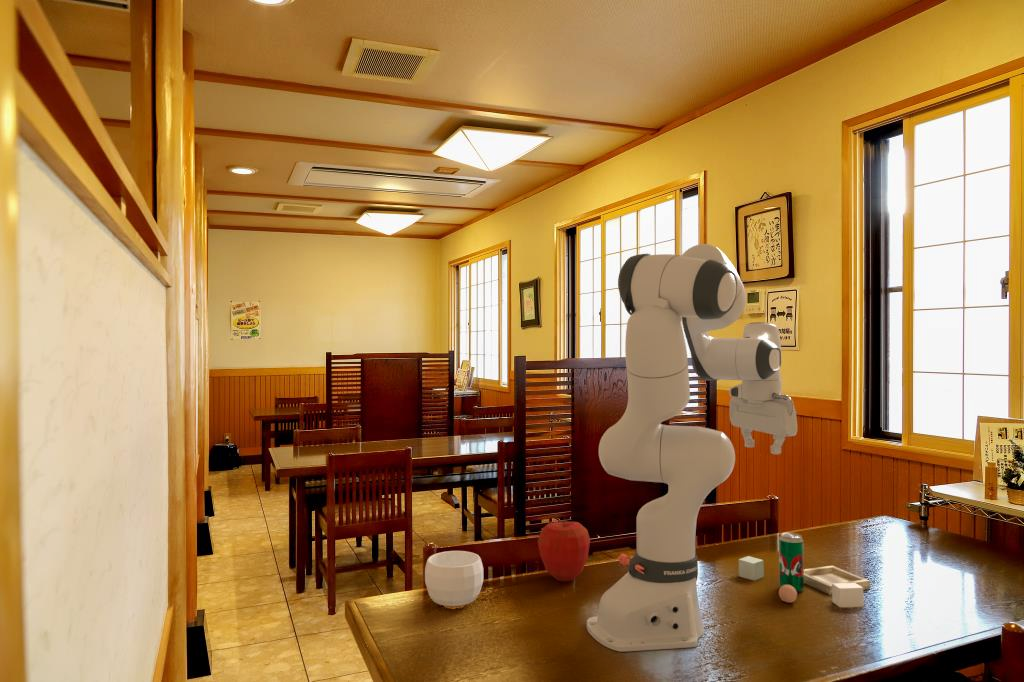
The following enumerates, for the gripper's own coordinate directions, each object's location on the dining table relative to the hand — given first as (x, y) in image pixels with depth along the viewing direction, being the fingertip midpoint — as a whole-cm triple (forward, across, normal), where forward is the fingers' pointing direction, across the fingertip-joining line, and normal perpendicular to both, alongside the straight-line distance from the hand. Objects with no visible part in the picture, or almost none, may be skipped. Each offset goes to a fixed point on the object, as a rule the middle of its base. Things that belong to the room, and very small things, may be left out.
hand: (762, 450), depth 161 cm
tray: (+30, -10, -11) cm, 33 cm away
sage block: (+30, 0, +3) cm, 30 cm away
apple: (+29, +13, +46) cm, 56 cm away
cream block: (+29, -21, -5) cm, 36 cm away
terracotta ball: (+27, -16, +6) cm, 32 cm away
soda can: (+30, -10, 0) cm, 31 cm away
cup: (+29, +6, +73) cm, 79 cm away
